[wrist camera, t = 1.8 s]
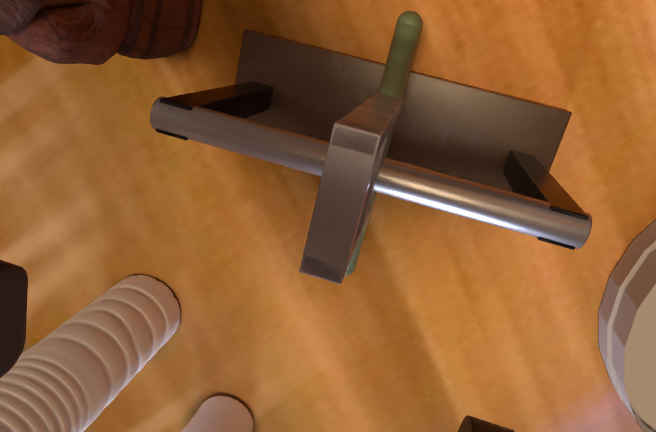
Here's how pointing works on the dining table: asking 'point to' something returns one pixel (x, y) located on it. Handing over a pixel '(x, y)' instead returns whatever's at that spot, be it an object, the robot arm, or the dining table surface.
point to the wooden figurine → (100, 28)
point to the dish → (632, 328)
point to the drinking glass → (220, 416)
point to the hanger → (358, 164)
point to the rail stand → (407, 140)
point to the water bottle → (88, 359)
